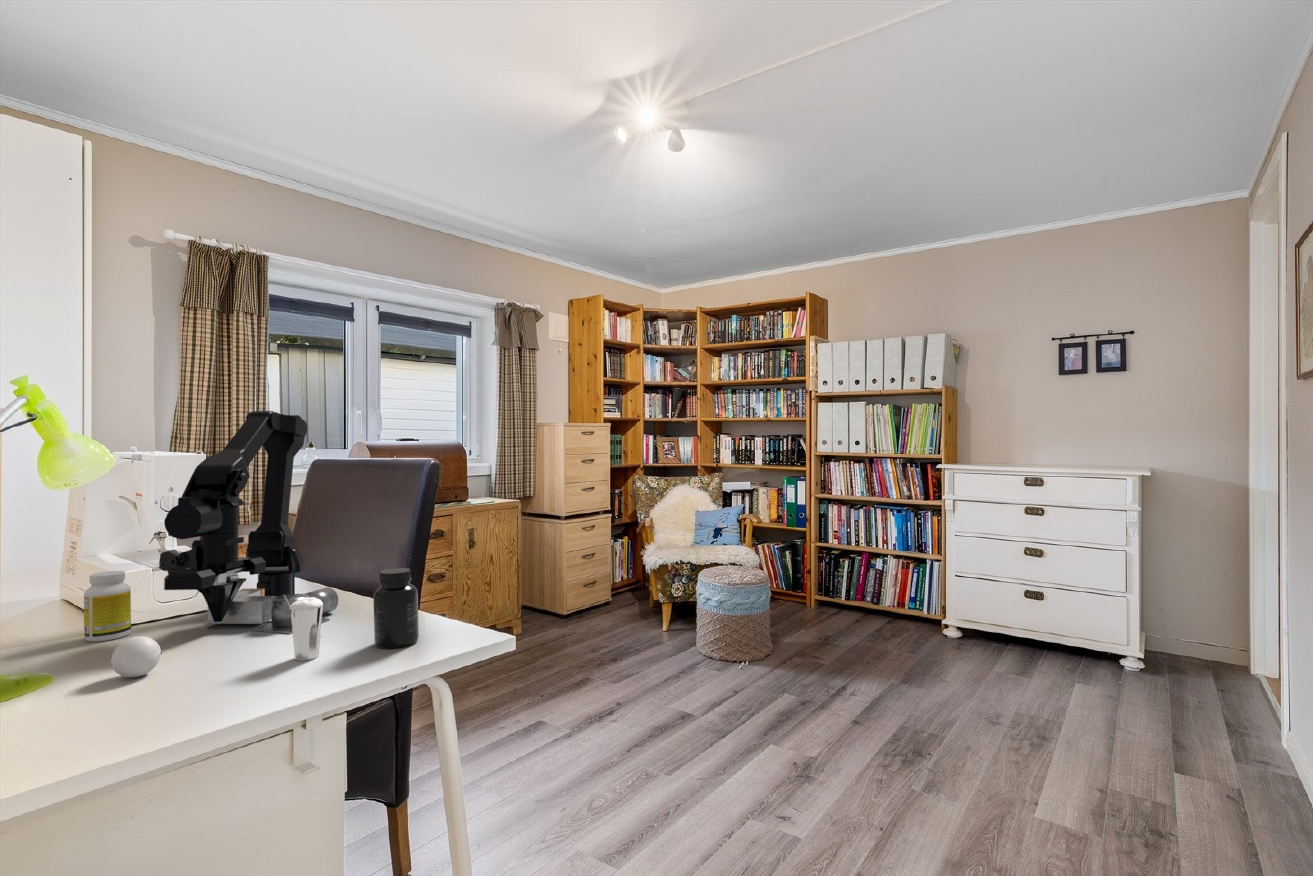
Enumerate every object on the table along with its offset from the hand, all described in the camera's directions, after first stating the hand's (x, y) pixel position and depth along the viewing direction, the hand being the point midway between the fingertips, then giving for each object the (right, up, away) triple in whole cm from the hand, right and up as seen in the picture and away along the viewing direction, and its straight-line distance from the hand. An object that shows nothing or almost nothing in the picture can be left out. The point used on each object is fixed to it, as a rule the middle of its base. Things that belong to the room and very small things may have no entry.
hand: (218, 621), depth 115 cm
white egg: (+3, -2, -21) cm, 21 cm away
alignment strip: (+2, -2, +4) cm, 5 cm away
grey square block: (+2, -1, +7) cm, 7 cm away
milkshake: (+23, -2, -15) cm, 28 cm away
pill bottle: (-17, -2, -3) cm, 17 cm away
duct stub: (+12, -2, +6) cm, 13 cm away
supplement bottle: (+35, -2, -8) cm, 36 cm away
